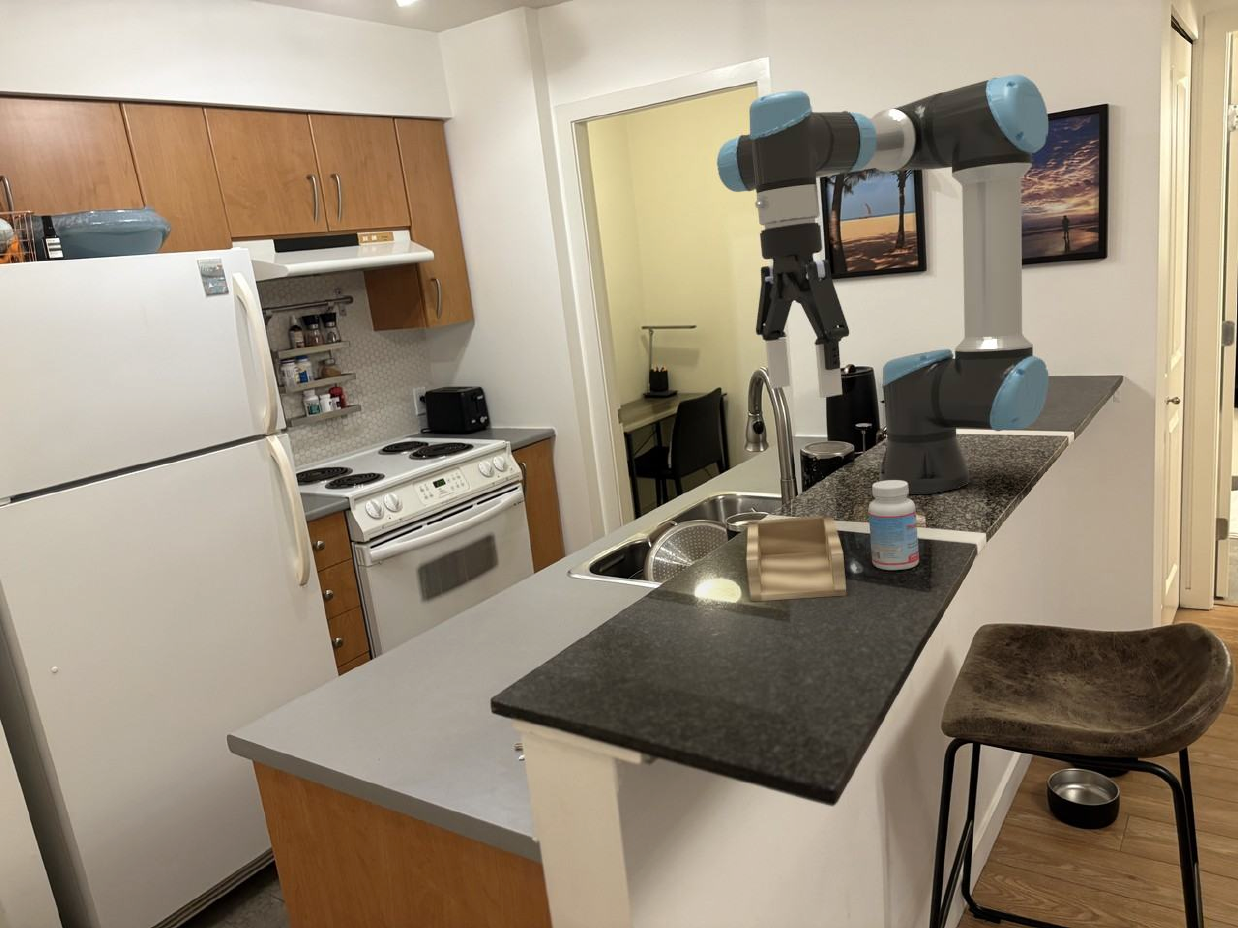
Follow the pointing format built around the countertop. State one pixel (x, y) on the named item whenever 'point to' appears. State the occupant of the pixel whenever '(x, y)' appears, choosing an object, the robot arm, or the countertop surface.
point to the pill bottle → (893, 526)
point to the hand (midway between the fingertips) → (804, 391)
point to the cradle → (795, 559)
